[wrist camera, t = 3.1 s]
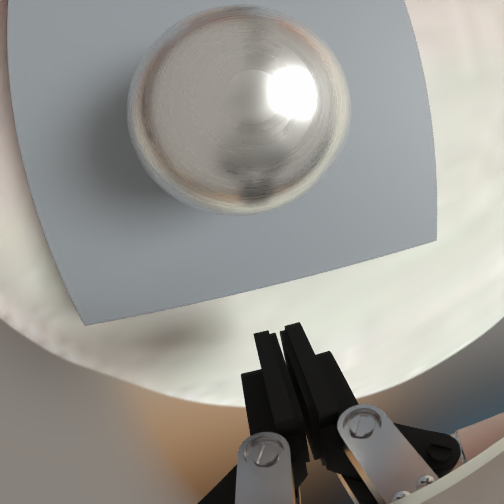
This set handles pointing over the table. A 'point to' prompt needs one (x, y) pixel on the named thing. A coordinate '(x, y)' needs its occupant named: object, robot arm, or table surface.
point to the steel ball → (239, 110)
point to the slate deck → (179, 214)
